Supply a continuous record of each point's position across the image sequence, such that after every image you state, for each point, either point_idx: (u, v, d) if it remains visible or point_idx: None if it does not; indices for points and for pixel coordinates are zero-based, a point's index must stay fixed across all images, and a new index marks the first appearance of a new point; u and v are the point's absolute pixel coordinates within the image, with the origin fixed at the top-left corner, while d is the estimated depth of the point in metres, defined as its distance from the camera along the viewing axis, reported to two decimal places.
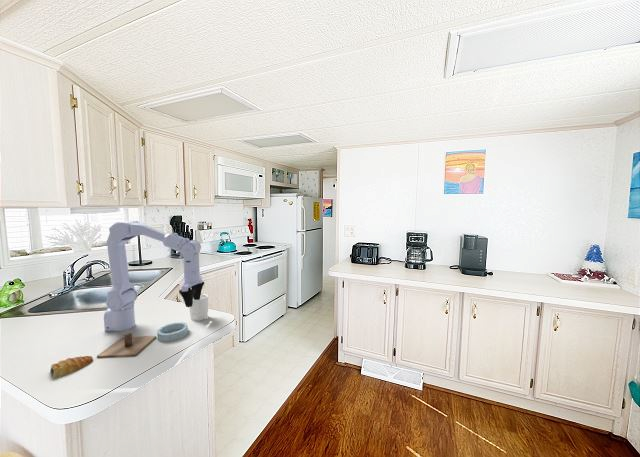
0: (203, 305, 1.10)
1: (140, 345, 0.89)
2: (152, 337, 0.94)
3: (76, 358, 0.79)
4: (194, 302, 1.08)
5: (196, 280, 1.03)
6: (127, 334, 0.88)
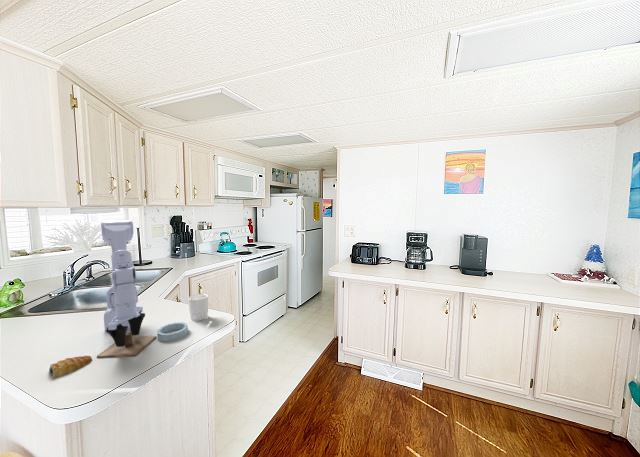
0: (203, 305, 1.10)
1: (140, 345, 0.89)
2: (152, 337, 0.94)
3: (75, 358, 0.79)
4: (194, 302, 1.08)
5: (130, 314, 0.87)
6: (127, 334, 0.88)
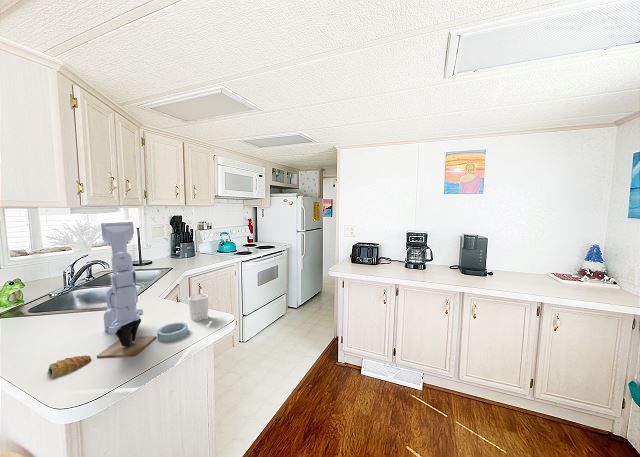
0: (203, 305, 1.10)
1: (140, 345, 0.89)
2: (152, 337, 0.94)
3: (74, 358, 0.79)
4: (194, 302, 1.08)
5: (130, 317, 0.87)
6: None
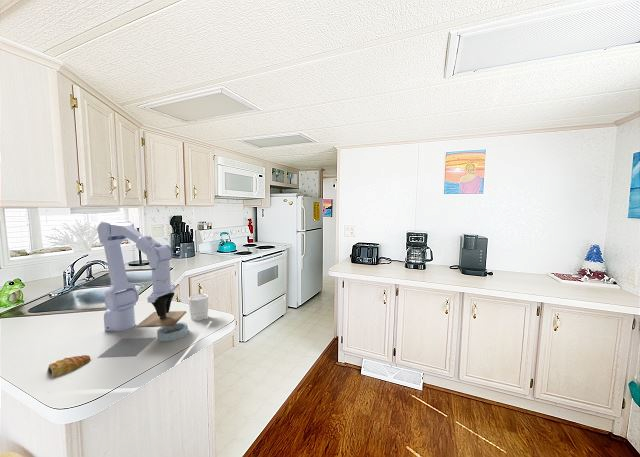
0: (203, 305, 1.10)
1: (174, 318, 0.95)
2: (183, 312, 1.01)
3: (74, 357, 0.79)
4: (194, 302, 1.08)
5: (166, 289, 0.93)
6: None
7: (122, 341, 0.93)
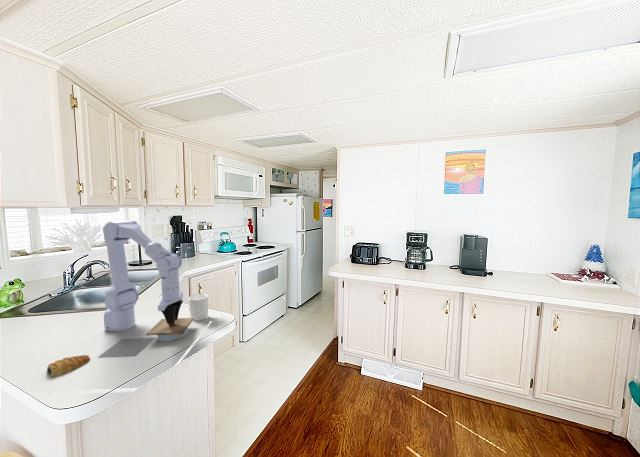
0: (203, 305, 1.10)
1: (183, 325, 0.98)
2: (190, 319, 1.03)
3: (73, 357, 0.79)
4: (194, 302, 1.08)
5: (175, 297, 0.95)
6: None
7: (122, 341, 0.93)
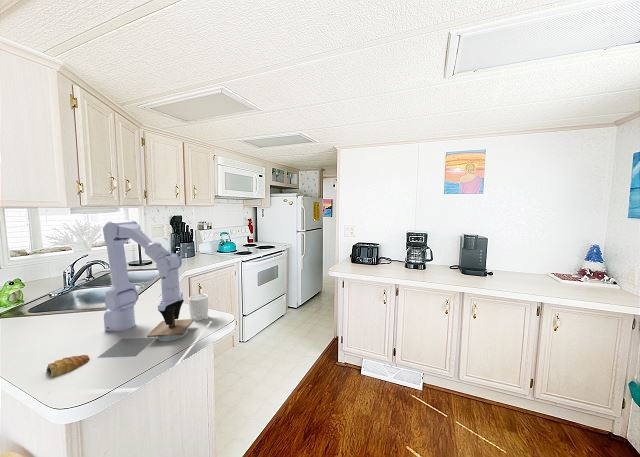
0: (203, 305, 1.10)
1: (183, 326, 0.98)
2: (190, 320, 1.03)
3: (73, 357, 0.79)
4: (194, 302, 1.08)
5: (175, 297, 0.95)
6: None
7: (122, 341, 0.93)
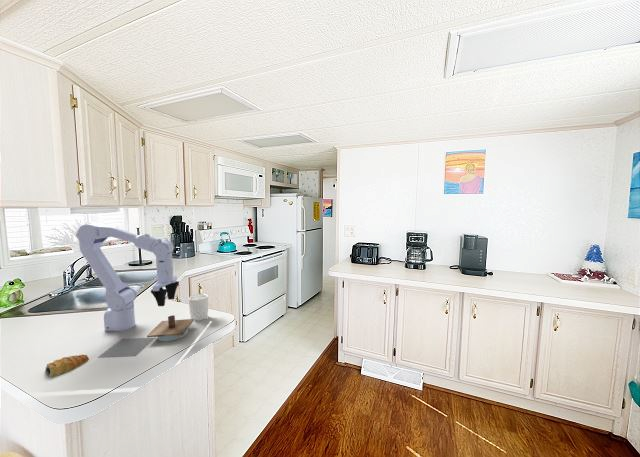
0: (203, 305, 1.10)
1: (183, 326, 0.98)
2: (190, 320, 1.03)
3: (72, 357, 0.79)
4: (194, 302, 1.08)
5: (169, 280, 1.04)
6: (171, 316, 0.97)
7: (122, 341, 0.93)
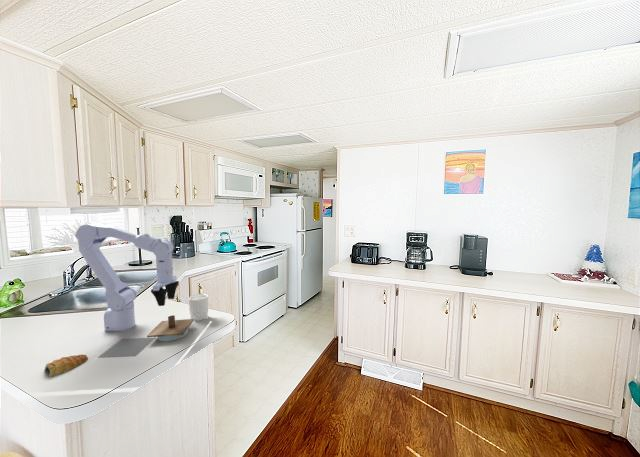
0: (203, 305, 1.10)
1: (183, 326, 0.98)
2: (190, 320, 1.03)
3: (71, 357, 0.79)
4: (194, 302, 1.08)
5: (169, 279, 1.04)
6: (171, 316, 0.97)
7: (122, 341, 0.93)
